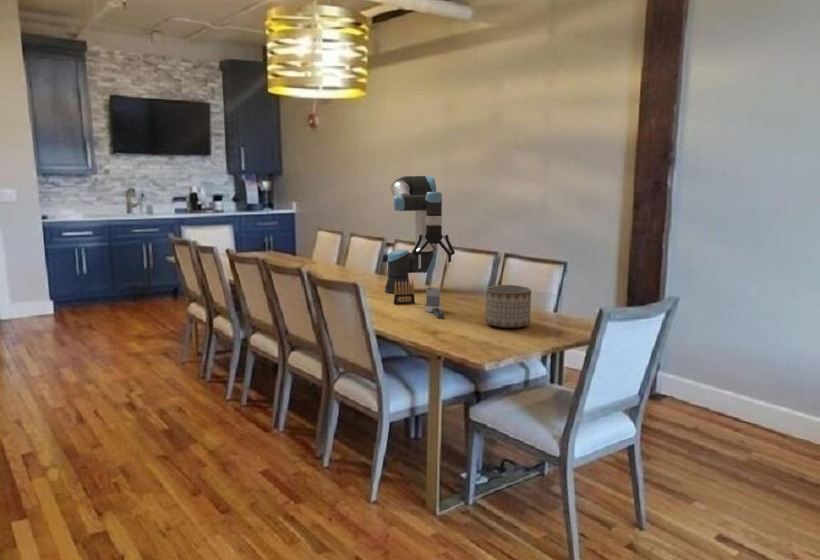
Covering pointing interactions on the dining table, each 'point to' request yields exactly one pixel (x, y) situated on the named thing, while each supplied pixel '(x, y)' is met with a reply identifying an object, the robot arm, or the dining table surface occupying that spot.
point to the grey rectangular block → (433, 297)
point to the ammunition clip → (404, 293)
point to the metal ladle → (435, 311)
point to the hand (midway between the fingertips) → (433, 268)
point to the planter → (508, 306)
